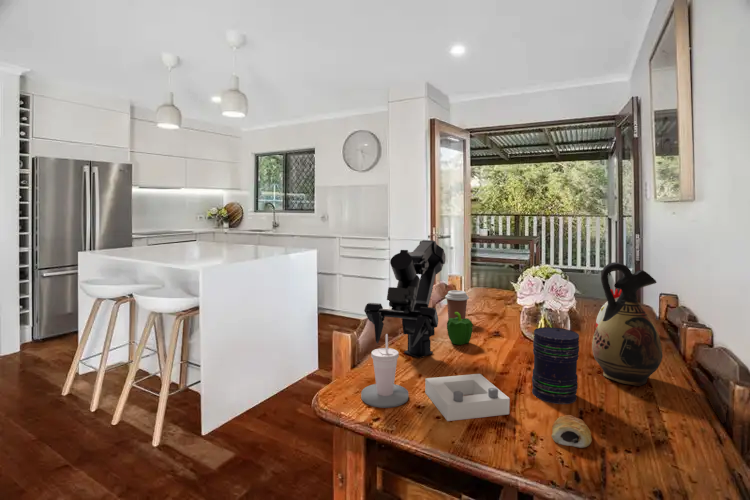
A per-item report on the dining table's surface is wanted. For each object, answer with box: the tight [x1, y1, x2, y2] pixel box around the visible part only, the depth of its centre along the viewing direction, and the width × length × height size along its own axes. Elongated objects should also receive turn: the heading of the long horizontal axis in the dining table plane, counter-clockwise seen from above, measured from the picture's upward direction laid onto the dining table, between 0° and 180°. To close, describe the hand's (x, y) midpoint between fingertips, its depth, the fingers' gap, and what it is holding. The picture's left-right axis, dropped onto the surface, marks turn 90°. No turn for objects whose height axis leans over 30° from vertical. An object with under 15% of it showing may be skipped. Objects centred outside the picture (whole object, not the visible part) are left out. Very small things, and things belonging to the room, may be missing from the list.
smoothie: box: [370, 333, 400, 396], centre depth 96 cm, size 6×6×14 cm
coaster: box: [360, 383, 409, 409], centre depth 97 cm, size 11×11×1 cm
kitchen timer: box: [595, 288, 622, 328], centre depth 153 cm, size 14×14×15 cm
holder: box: [424, 373, 511, 422], centre depth 94 cm, size 14×14×5 cm
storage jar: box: [531, 326, 580, 405], centre depth 97 cm, size 10×10×15 cm
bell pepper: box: [446, 312, 474, 345], centre depth 137 cm, size 8×8×10 cm
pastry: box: [551, 414, 593, 449], centre depth 80 cm, size 9×7×4 cm
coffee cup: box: [444, 289, 470, 321], centre depth 163 cm, size 9×9×12 cm
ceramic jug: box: [591, 261, 664, 387], centre depth 107 cm, size 17×15×30 cm
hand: (394, 344), depth 103 cm, fingers open, 9 cm apart
